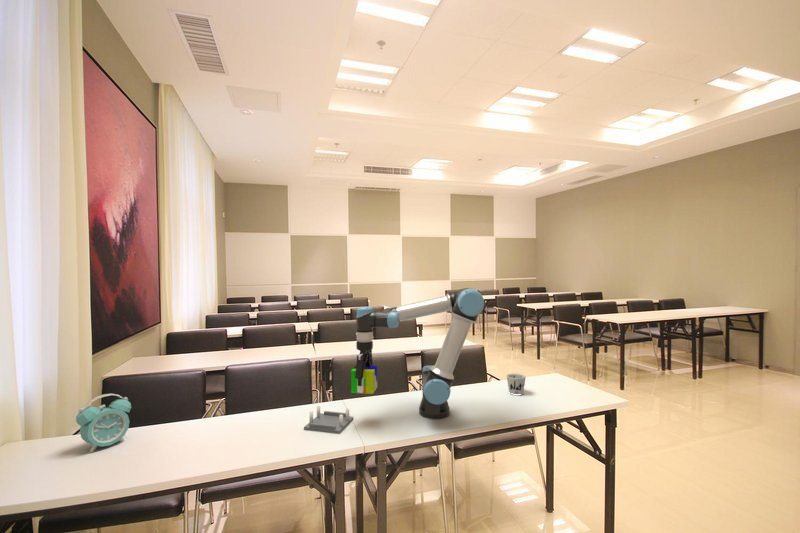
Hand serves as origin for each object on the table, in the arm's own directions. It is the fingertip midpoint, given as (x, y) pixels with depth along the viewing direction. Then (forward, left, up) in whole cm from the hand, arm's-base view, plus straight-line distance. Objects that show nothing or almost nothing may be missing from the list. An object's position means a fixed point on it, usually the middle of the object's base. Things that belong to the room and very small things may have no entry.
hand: (364, 388), depth 166 cm
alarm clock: (+95, +45, -16) cm, 106 cm away
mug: (-70, -62, -16) cm, 95 cm away
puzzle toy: (0, 0, -1) cm, 1 cm away
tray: (+15, +5, -16) cm, 23 cm away
